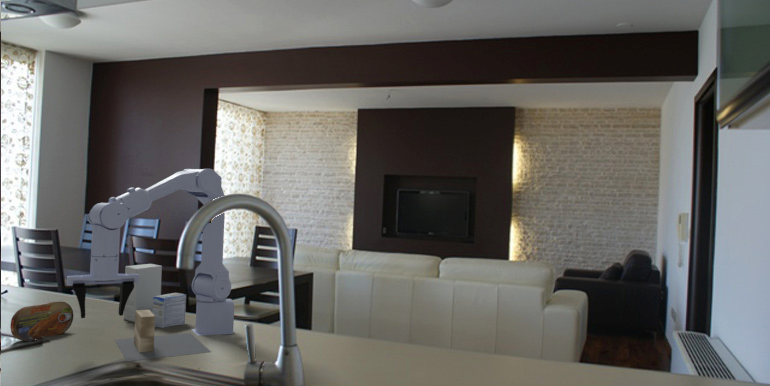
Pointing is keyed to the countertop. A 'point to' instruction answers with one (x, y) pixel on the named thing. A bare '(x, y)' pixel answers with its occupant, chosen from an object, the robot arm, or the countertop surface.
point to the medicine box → (169, 309)
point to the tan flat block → (144, 330)
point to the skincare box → (143, 289)
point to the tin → (41, 320)
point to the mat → (163, 347)
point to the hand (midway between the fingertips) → (102, 316)
